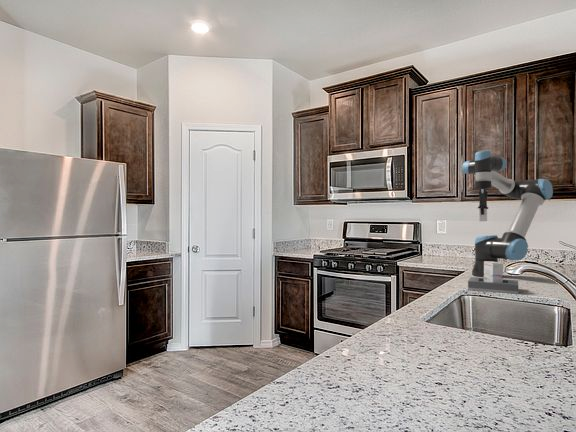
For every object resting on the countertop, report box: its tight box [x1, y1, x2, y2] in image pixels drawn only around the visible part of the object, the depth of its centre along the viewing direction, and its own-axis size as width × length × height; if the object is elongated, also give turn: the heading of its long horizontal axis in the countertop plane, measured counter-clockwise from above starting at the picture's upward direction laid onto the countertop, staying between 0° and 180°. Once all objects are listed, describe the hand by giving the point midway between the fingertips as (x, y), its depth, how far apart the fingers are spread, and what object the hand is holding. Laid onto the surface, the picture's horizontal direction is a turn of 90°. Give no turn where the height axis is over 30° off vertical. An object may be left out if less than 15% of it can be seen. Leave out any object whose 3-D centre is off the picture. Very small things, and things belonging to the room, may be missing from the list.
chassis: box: [467, 276, 519, 295], centre depth 176 cm, size 14×20×4 cm
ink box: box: [483, 261, 504, 283], centre depth 176 cm, size 9×5×12 cm, turn 179°
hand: (483, 221), depth 197 cm, fingers open, 13 cm apart
